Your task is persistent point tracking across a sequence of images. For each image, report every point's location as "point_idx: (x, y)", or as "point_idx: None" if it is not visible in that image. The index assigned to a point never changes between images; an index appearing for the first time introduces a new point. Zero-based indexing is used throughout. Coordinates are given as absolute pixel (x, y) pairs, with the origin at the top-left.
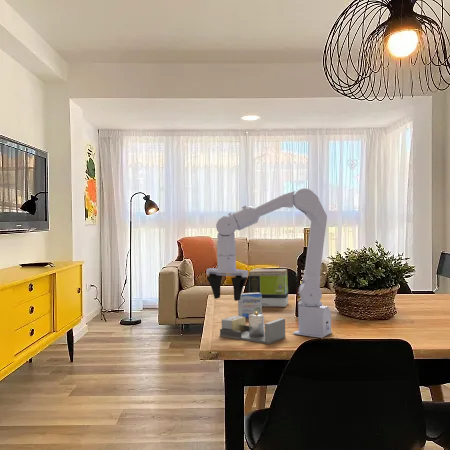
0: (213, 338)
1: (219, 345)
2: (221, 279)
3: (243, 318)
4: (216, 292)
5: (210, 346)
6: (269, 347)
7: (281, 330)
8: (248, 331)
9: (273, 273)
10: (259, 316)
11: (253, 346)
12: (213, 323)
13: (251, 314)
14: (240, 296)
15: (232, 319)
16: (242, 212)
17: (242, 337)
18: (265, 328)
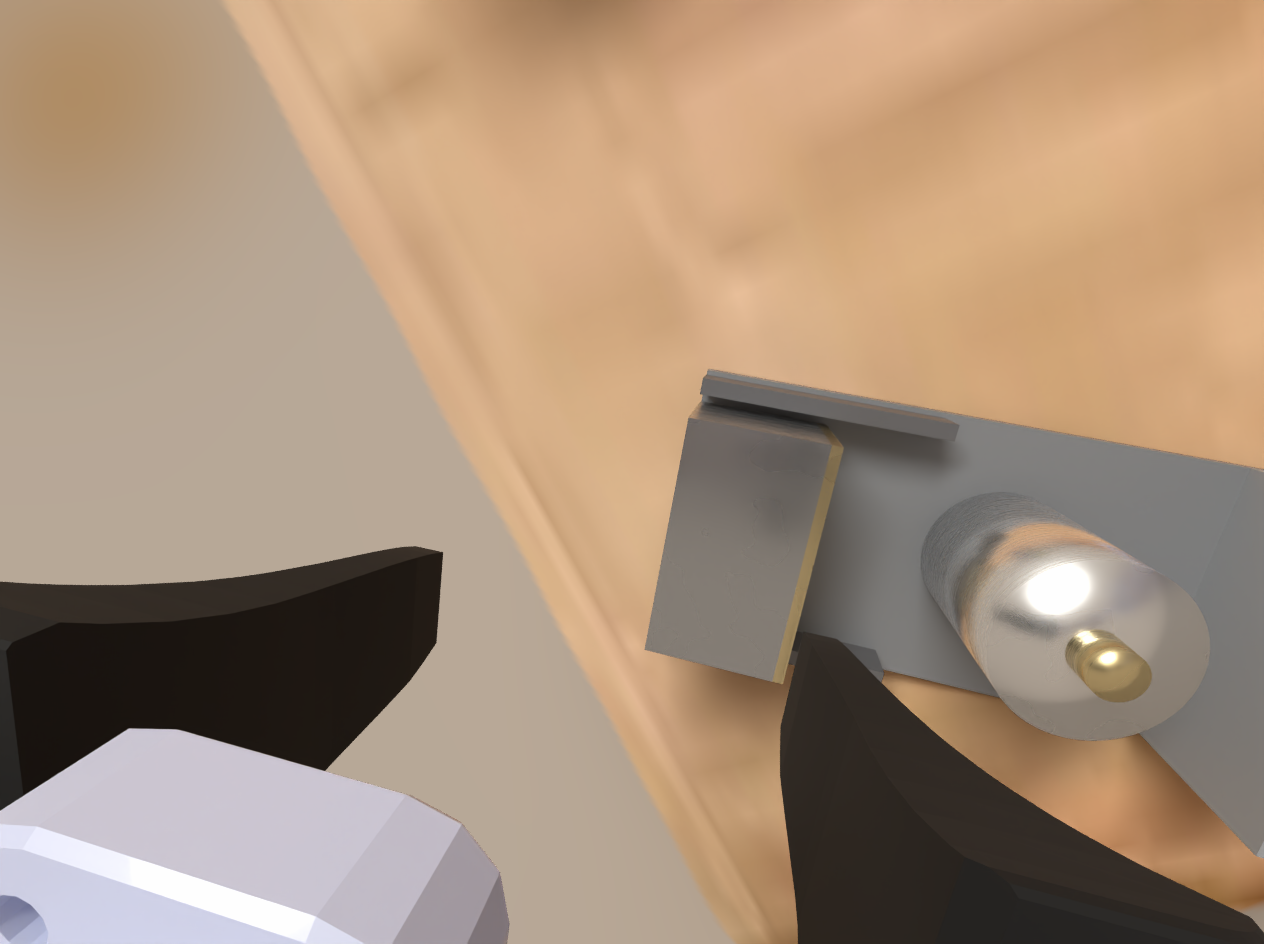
0: (648, 679)
1: (781, 839)
2: (172, 621)
3: (832, 485)
4: (382, 678)
5: (733, 872)
6: (1195, 813)
7: None
8: (863, 443)
9: None
10: (1160, 711)
11: (1048, 813)
12: (369, 176)
13: (1009, 623)
14: (860, 665)
15: (754, 622)
16: None
17: (890, 662)
18: (1227, 818)
